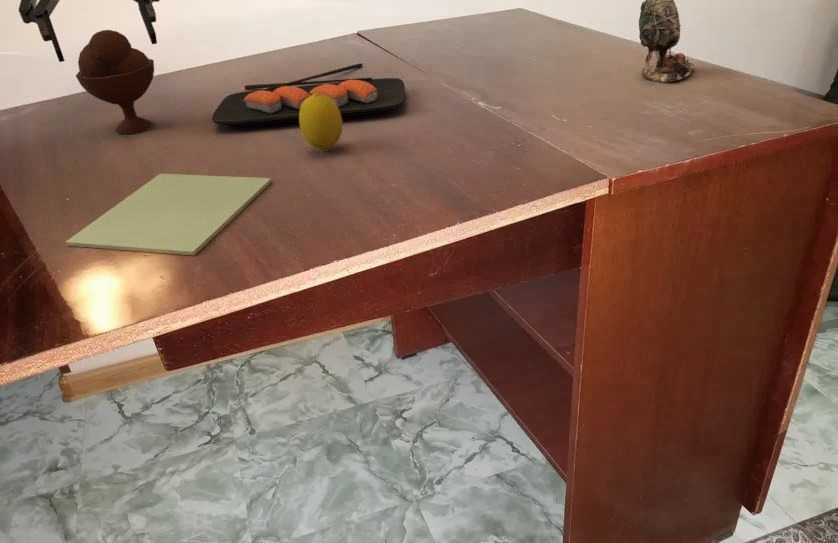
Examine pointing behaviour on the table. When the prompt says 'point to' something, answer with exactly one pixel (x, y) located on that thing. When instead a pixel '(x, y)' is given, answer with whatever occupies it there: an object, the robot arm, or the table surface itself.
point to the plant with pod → (662, 41)
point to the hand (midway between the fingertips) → (108, 47)
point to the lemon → (320, 121)
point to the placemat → (171, 214)
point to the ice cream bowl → (116, 76)
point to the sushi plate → (286, 100)
